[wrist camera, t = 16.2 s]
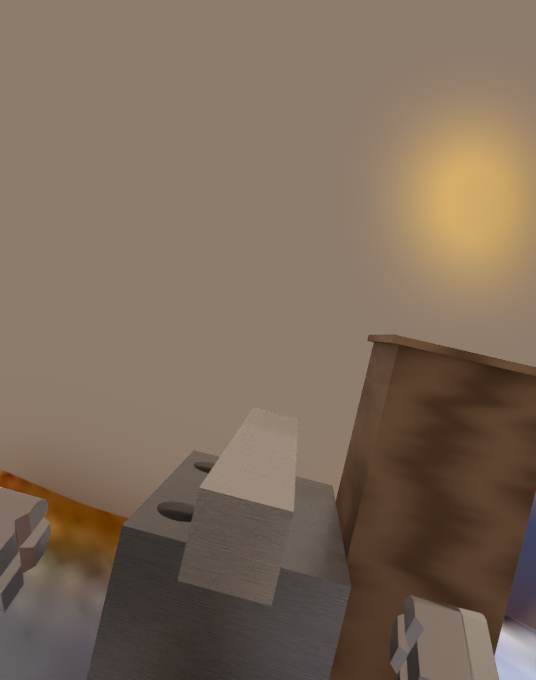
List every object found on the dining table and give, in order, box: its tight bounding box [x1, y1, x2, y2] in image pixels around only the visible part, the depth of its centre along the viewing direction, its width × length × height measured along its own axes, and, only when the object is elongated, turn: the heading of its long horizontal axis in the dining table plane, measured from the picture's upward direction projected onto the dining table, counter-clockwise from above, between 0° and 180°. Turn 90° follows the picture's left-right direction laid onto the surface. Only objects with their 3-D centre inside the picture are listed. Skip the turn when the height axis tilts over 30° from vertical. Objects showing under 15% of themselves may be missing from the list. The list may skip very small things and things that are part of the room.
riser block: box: [87, 451, 351, 680], centre depth 28 cm, size 10×14×15 cm
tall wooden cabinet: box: [329, 335, 536, 680], centre depth 36 cm, size 11×12×26 cm
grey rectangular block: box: [178, 408, 298, 606], centre depth 28 cm, size 4×20×4 cm, turn 176°
